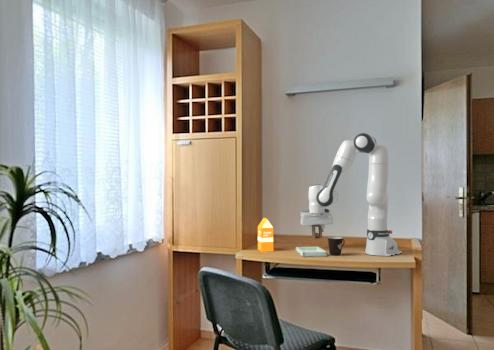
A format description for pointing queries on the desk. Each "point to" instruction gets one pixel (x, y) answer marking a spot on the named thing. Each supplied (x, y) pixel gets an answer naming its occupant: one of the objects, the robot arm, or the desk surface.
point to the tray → (311, 251)
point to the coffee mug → (335, 245)
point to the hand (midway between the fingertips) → (317, 232)
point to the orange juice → (265, 236)
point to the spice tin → (319, 231)
